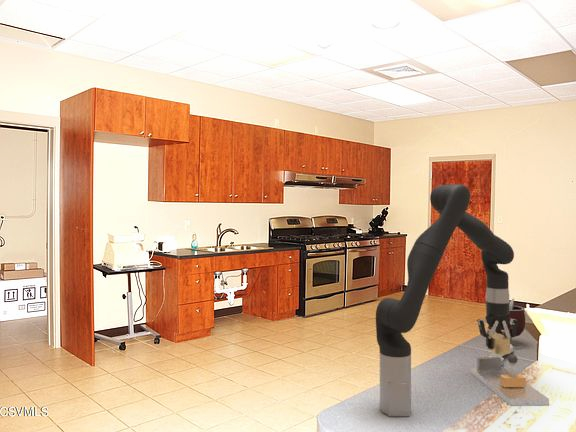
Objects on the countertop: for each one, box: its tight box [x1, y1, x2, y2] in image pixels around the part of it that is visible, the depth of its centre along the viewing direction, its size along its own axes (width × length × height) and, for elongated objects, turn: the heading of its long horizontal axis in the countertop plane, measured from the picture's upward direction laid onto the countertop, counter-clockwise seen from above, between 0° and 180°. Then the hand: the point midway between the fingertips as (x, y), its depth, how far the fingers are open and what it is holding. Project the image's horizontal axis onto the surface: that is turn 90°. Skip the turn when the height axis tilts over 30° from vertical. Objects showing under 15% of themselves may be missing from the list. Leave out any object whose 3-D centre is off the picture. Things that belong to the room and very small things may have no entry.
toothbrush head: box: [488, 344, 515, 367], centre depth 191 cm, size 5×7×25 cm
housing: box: [485, 333, 511, 355], centre depth 165 cm, size 8×5×5 cm, turn 178°
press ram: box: [500, 353, 527, 387], centre depth 154 cm, size 3×7×10 cm, turn 91°
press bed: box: [470, 356, 550, 406], centre depth 159 cm, size 30×12×6 cm, turn 1°
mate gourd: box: [494, 298, 526, 350], centre depth 211 cm, size 16×14×20 cm
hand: (497, 348), depth 165 cm, fingers closed on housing, 5 cm apart
